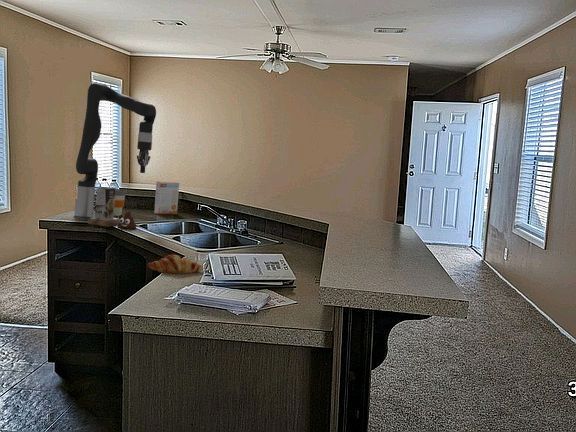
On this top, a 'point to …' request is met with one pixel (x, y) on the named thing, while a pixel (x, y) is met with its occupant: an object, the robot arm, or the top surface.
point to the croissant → (175, 265)
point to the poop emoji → (127, 221)
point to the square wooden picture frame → (103, 221)
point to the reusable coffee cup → (119, 201)
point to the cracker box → (166, 197)
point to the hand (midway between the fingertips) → (142, 172)
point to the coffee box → (105, 203)
